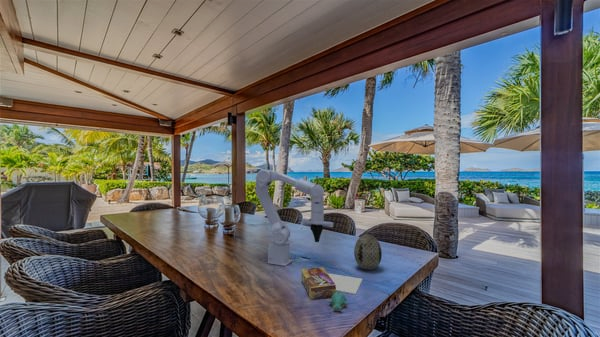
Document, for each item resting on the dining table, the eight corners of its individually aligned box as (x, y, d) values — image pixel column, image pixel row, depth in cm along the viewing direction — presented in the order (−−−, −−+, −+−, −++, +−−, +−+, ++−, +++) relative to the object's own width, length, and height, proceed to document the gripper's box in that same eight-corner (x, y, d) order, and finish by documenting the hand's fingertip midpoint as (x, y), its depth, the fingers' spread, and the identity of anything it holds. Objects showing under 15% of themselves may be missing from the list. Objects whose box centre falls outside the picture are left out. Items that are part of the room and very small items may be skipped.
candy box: (301, 280, 103) (310, 299, 88) (301, 269, 103) (310, 286, 88) (323, 278, 105) (336, 296, 90) (323, 267, 105) (336, 284, 90)
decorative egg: (348, 269, 116) (349, 234, 117) (362, 262, 125) (362, 230, 125) (373, 276, 108) (373, 239, 109) (386, 268, 117) (386, 234, 117)
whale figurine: (348, 303, 86) (348, 291, 86) (346, 314, 79) (346, 301, 79) (330, 300, 88) (330, 289, 88) (326, 311, 81) (326, 299, 81)
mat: (313, 286, 98) (313, 285, 98) (324, 273, 111) (324, 272, 111) (355, 294, 92) (355, 293, 92) (362, 279, 105) (362, 278, 105)
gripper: (335, 211, 123) (335, 241, 123) (305, 209, 128) (305, 238, 128) (330, 213, 116) (330, 245, 116) (300, 211, 122) (299, 241, 122)
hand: (317, 241), depth 122 cm, fingers closed
